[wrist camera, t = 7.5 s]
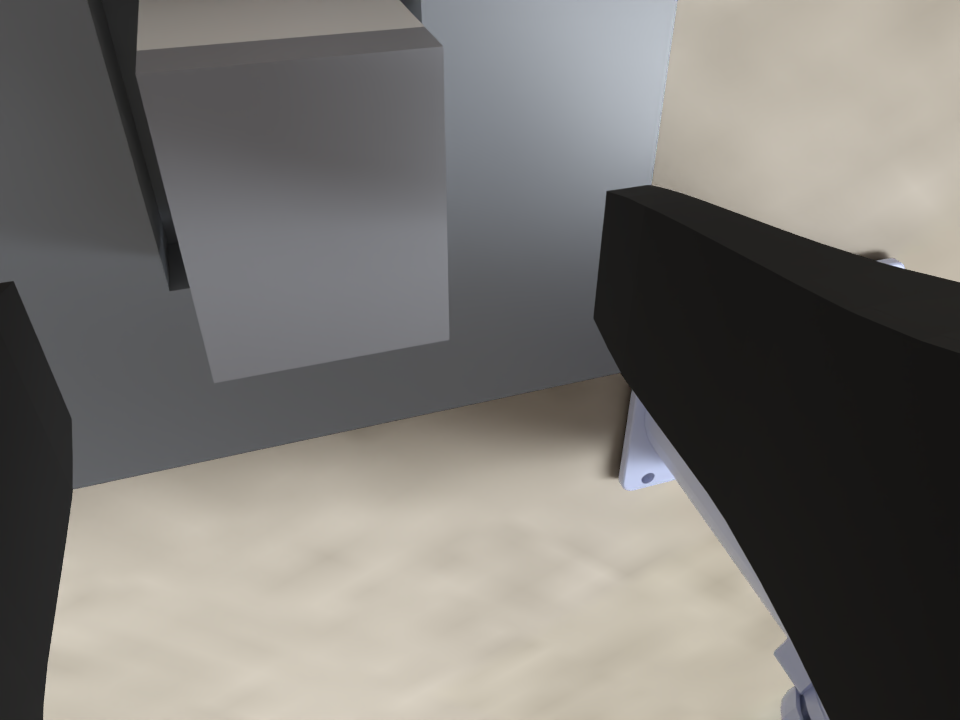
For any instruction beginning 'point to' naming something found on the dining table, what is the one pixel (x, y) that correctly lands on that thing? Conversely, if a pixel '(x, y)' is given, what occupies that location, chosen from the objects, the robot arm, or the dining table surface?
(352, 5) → the grey rectangular block
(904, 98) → the dining table surface
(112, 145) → the socket plate
